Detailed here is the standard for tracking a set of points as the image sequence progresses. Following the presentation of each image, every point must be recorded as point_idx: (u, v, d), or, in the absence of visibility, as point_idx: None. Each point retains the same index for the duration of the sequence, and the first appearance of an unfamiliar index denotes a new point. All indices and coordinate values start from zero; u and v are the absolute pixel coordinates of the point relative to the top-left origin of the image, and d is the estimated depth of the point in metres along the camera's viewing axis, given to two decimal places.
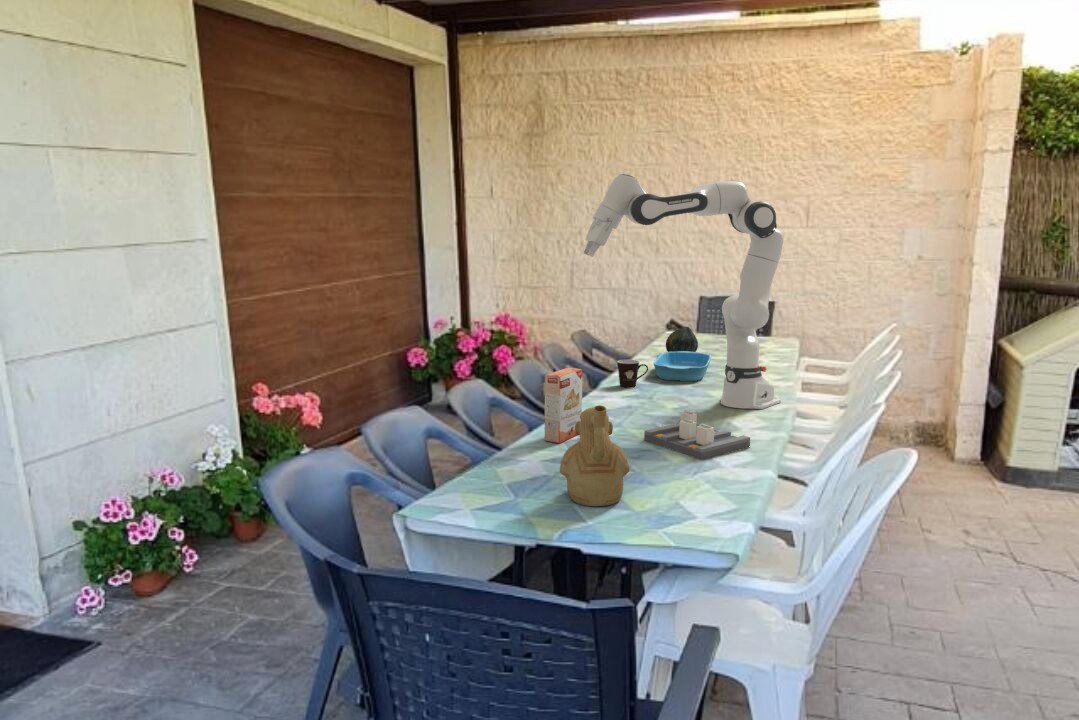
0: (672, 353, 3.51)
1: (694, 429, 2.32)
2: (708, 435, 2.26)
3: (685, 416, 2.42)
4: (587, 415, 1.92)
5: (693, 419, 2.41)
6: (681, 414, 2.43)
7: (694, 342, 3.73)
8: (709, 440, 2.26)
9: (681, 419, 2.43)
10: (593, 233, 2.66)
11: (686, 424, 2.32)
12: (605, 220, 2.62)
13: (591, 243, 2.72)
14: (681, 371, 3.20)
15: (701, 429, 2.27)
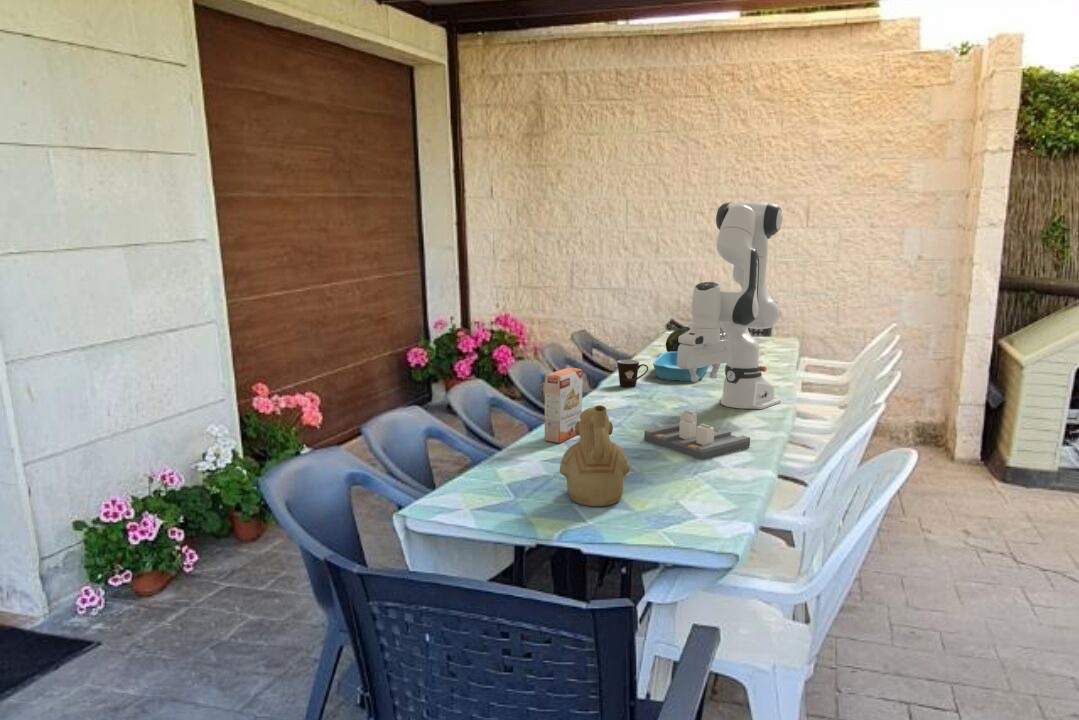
0: (673, 353, 3.51)
1: (694, 429, 2.32)
2: (708, 435, 2.26)
3: (685, 416, 2.42)
4: (587, 415, 1.92)
5: (693, 419, 2.41)
6: (681, 414, 2.43)
7: None
8: (709, 440, 2.26)
9: (681, 419, 2.43)
10: (709, 357, 2.42)
11: (686, 424, 2.32)
12: None
13: None
14: (680, 371, 3.20)
15: (701, 429, 2.27)
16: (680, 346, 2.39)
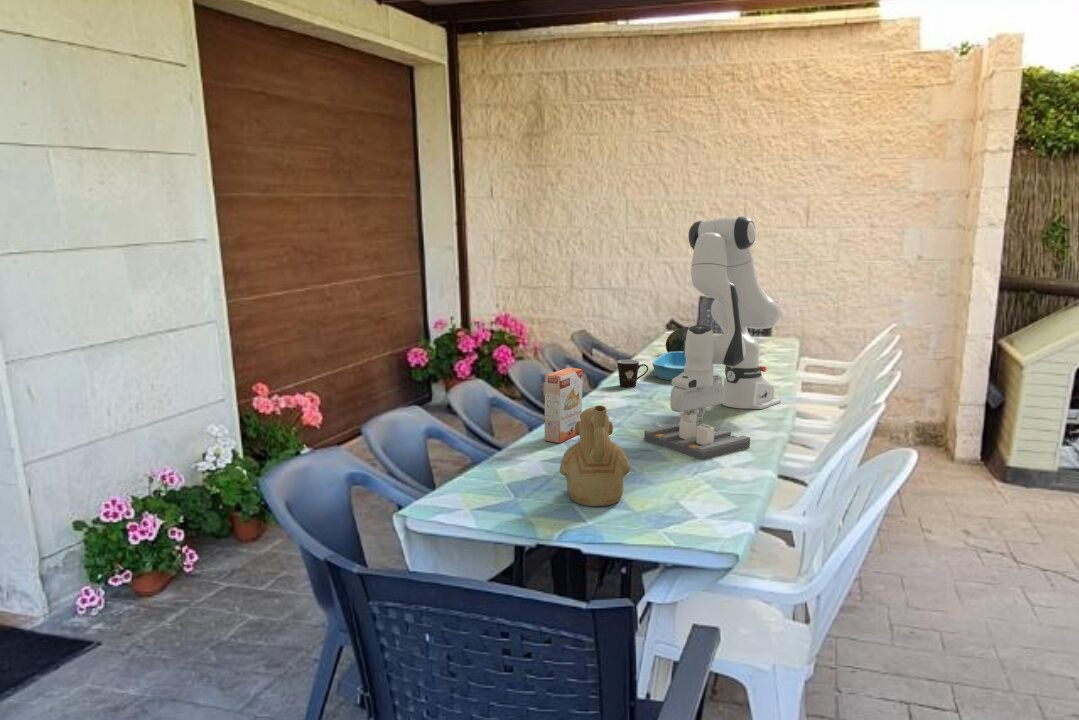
0: (675, 353, 3.51)
1: (694, 429, 2.32)
2: (708, 435, 2.26)
3: (685, 416, 2.42)
4: (587, 415, 1.92)
5: (693, 419, 2.41)
6: (681, 414, 2.43)
7: None
8: (709, 440, 2.26)
9: (681, 419, 2.43)
10: (703, 399, 2.43)
11: (686, 424, 2.32)
12: None
13: None
14: (678, 371, 3.20)
15: (701, 429, 2.27)
16: (673, 389, 2.39)
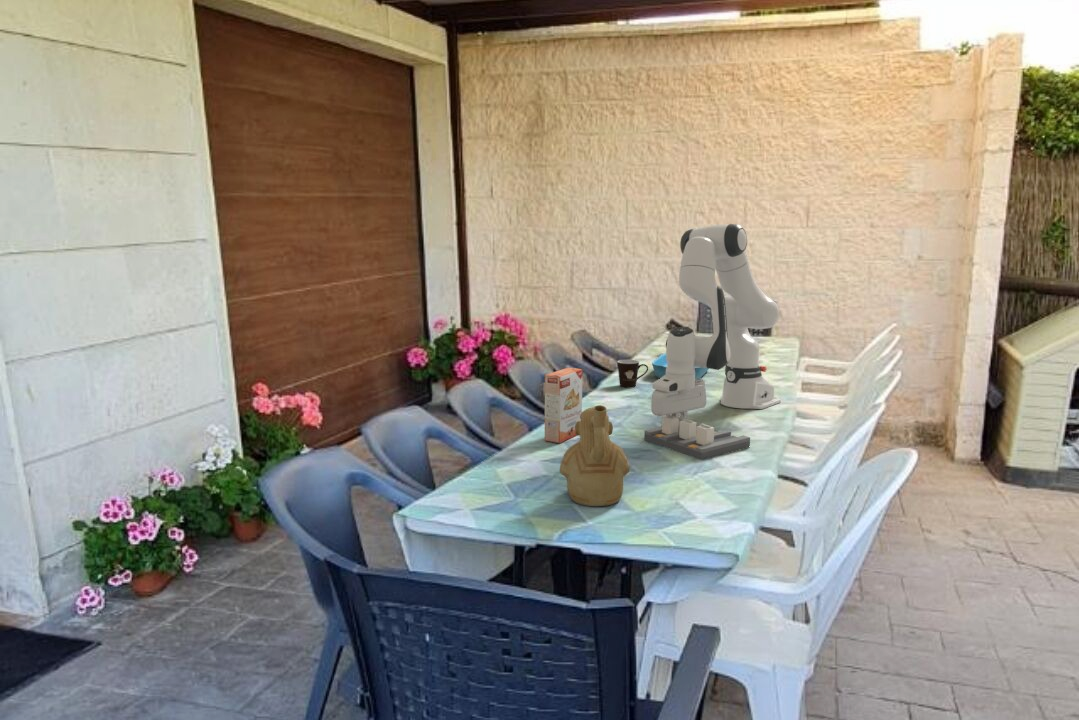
0: None
1: (694, 429, 2.32)
2: (708, 435, 2.26)
3: (667, 420, 2.38)
4: (587, 415, 1.92)
5: (675, 423, 2.37)
6: (663, 418, 2.39)
7: None
8: (709, 440, 2.26)
9: (663, 423, 2.39)
10: (684, 403, 2.38)
11: (686, 424, 2.32)
12: None
13: None
14: None
15: (701, 429, 2.27)
16: (654, 393, 2.35)
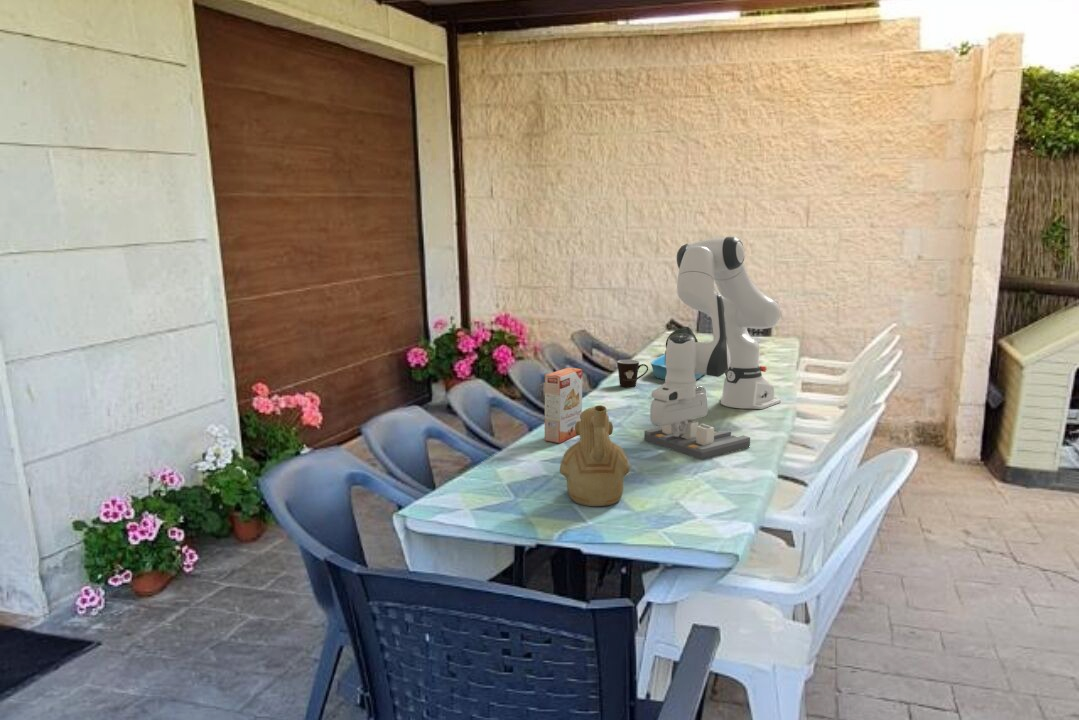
0: None
1: (696, 429, 2.32)
2: (708, 435, 2.26)
3: None
4: (587, 415, 1.92)
5: None
6: None
7: None
8: (709, 440, 2.26)
9: None
10: (685, 412, 2.29)
11: None
12: None
13: None
14: None
15: (701, 429, 2.27)
16: (653, 402, 2.26)
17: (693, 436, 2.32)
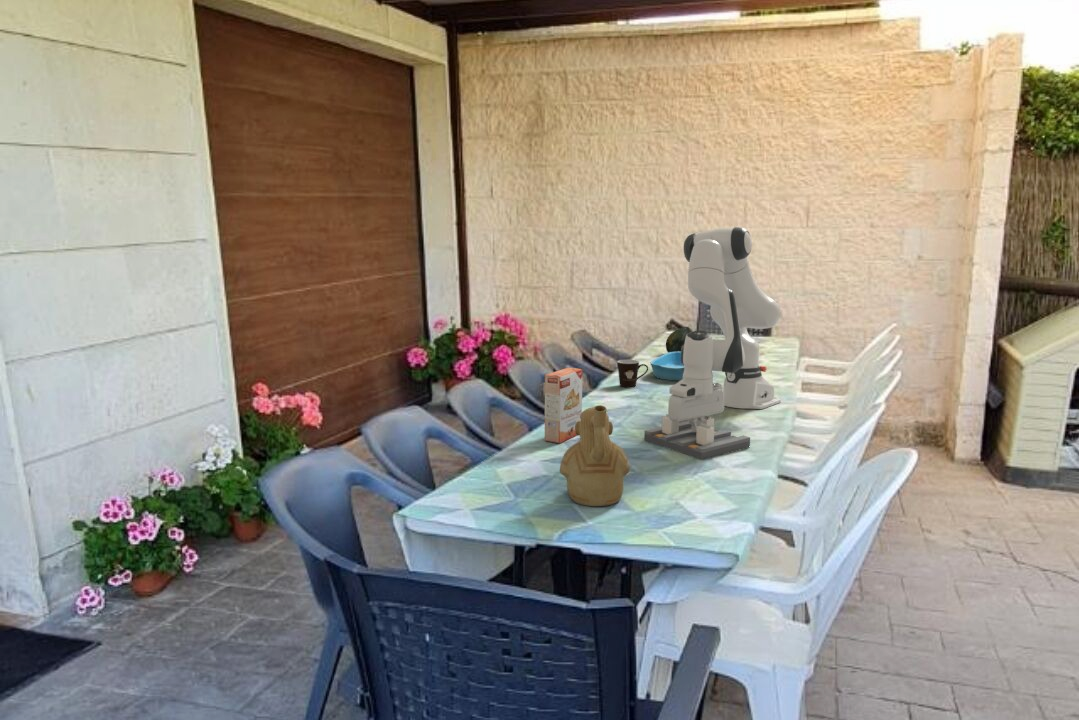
0: (679, 353, 3.51)
1: (712, 425, 2.36)
2: (708, 435, 2.26)
3: (667, 420, 2.38)
4: (587, 415, 1.92)
5: (675, 423, 2.37)
6: (663, 418, 2.39)
7: None
8: (709, 440, 2.26)
9: (663, 423, 2.39)
10: (702, 408, 2.33)
11: (704, 420, 2.36)
12: None
13: None
14: (675, 371, 3.21)
15: (701, 429, 2.27)
16: (671, 398, 2.30)
17: None
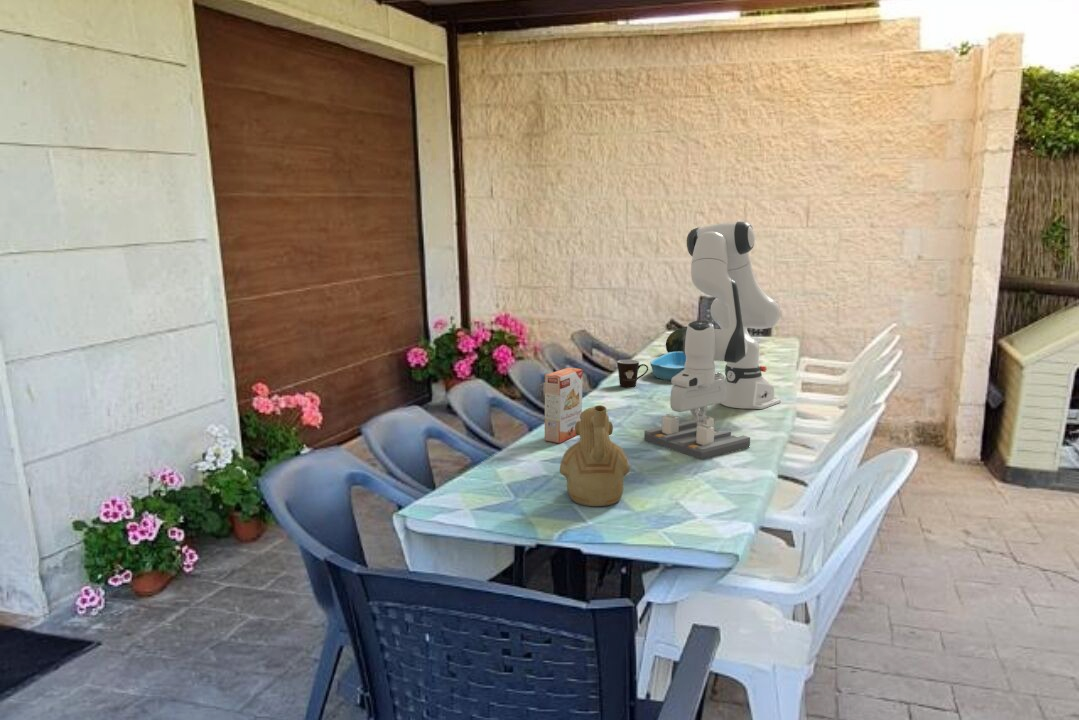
0: (679, 353, 3.51)
1: (711, 425, 2.36)
2: (708, 435, 2.26)
3: (667, 420, 2.38)
4: (587, 415, 1.92)
5: (675, 423, 2.37)
6: (663, 418, 2.39)
7: None
8: (709, 440, 2.26)
9: (663, 423, 2.39)
10: (704, 398, 2.33)
11: None
12: None
13: None
14: (674, 371, 3.21)
15: (701, 429, 2.27)
16: (673, 388, 2.29)
17: None
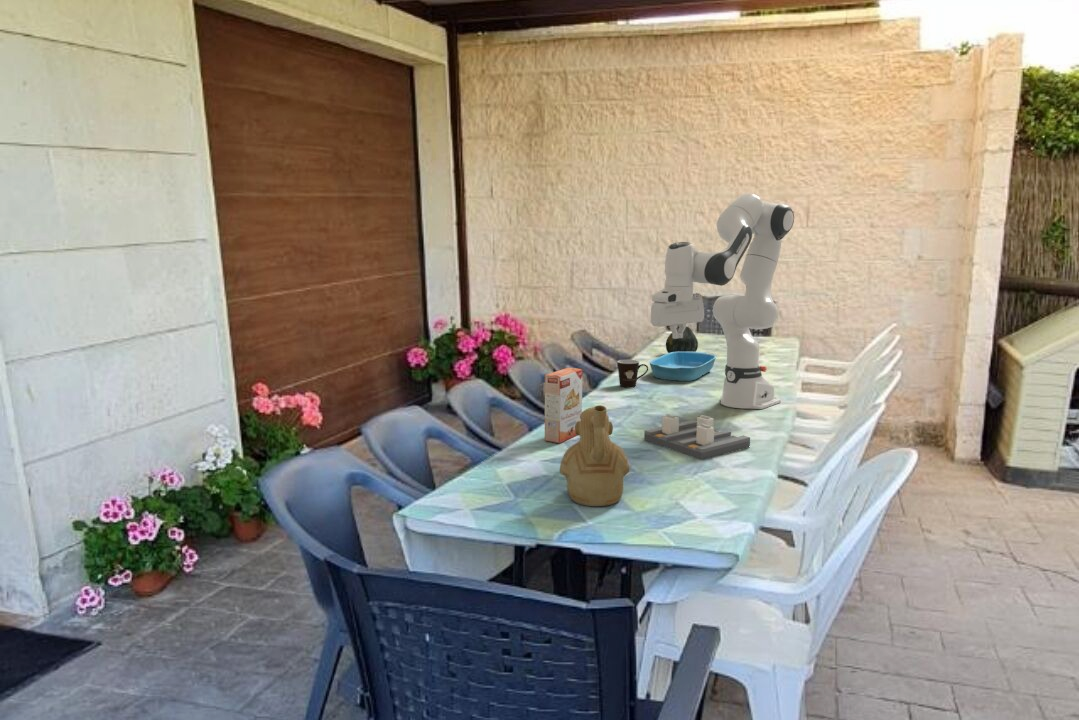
0: (681, 353, 3.51)
1: (711, 425, 2.36)
2: (708, 435, 2.26)
3: (667, 420, 2.38)
4: (587, 415, 1.92)
5: (675, 423, 2.37)
6: (663, 418, 2.39)
7: (694, 342, 3.73)
8: (709, 440, 2.26)
9: (663, 423, 2.39)
10: (683, 315, 2.47)
11: (703, 420, 2.36)
12: None
13: None
14: (673, 371, 3.21)
15: (701, 429, 2.27)
16: (653, 304, 2.43)
17: None
